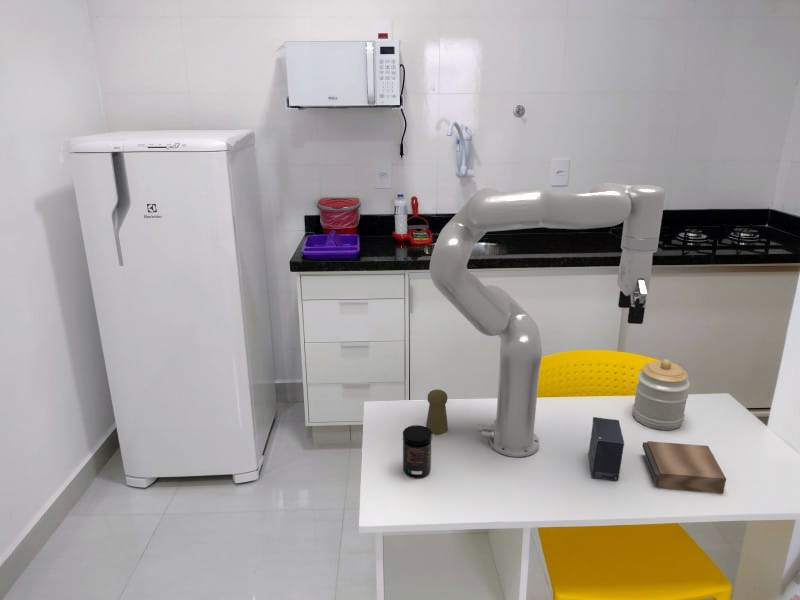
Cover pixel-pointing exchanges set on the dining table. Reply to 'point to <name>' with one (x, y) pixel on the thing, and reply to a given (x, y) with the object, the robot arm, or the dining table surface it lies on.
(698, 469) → the dock
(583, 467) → the dining table surface
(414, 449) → the supplement container
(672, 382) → the jar
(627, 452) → the dining table surface
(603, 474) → the small box
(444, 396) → the cork
